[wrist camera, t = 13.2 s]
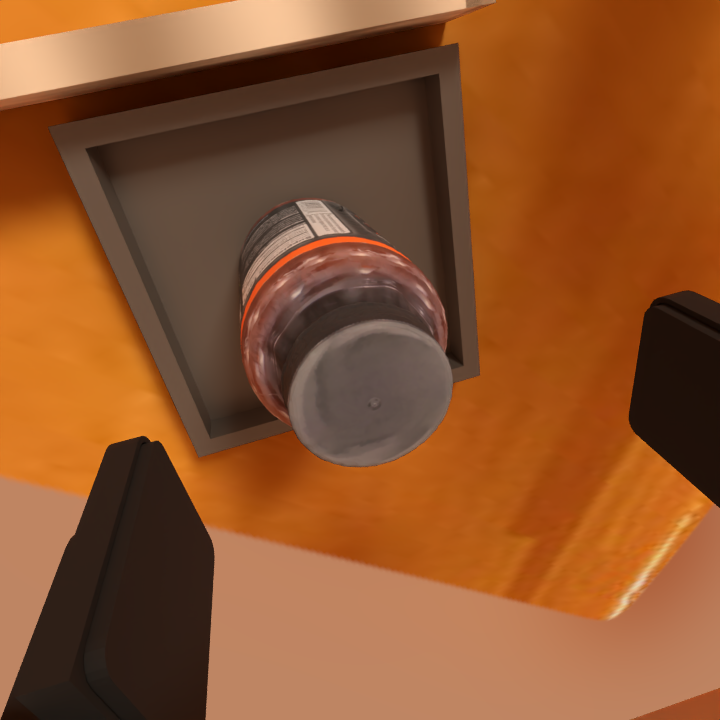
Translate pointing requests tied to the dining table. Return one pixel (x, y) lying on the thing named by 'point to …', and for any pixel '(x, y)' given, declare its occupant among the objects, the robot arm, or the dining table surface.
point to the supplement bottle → (341, 334)
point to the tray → (260, 194)
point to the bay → (200, 42)
